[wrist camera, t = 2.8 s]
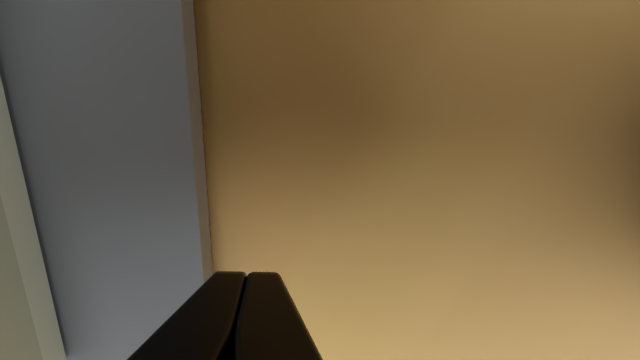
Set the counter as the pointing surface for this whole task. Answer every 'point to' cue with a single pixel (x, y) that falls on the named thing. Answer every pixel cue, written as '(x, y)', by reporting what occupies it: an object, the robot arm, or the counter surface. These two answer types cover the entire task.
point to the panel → (22, 264)
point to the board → (110, 161)
